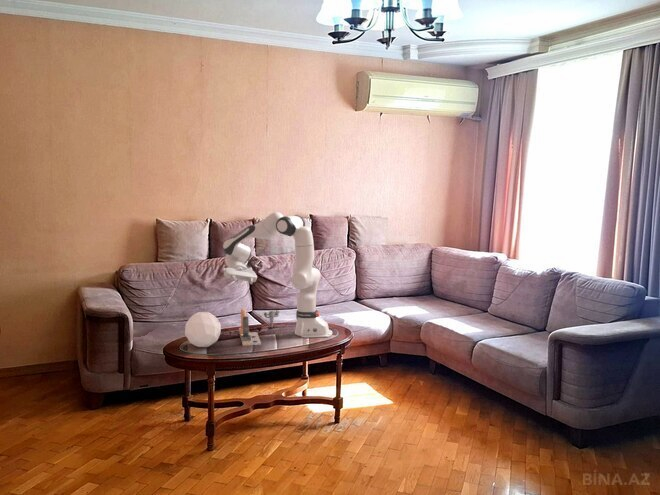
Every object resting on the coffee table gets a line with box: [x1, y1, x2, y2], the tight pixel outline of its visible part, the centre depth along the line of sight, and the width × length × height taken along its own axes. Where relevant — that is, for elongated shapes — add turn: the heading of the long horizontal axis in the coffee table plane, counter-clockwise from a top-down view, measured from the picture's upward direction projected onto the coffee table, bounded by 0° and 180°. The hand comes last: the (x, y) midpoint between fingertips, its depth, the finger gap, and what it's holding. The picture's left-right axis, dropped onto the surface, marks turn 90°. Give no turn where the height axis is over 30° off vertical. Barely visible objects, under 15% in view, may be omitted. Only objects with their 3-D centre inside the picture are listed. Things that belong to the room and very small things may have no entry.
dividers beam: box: [239, 315, 251, 347], centre depth 333 cm, size 23×5×16 cm, turn 13°
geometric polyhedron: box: [184, 311, 222, 348], centre depth 321 cm, size 19×20×20 cm
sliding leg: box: [238, 309, 247, 334], centre depth 340 cm, size 5×5×13 cm
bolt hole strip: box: [249, 331, 262, 346], centre depth 335 cm, size 23×6×1 cm, turn 13°
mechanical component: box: [263, 309, 280, 328], centre depth 363 cm, size 3×10×10 cm, turn 127°
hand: (244, 282), depth 348 cm, fingers open, 8 cm apart
